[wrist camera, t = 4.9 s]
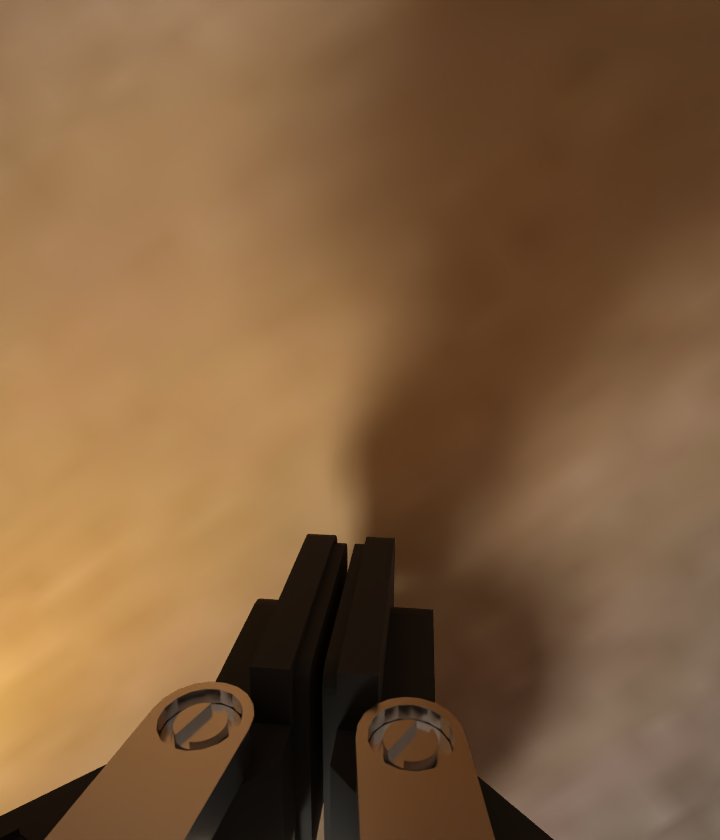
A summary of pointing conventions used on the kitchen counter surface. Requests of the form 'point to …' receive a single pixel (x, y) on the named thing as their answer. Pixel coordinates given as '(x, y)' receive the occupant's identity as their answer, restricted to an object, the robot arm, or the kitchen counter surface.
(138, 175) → the kitchen counter surface
